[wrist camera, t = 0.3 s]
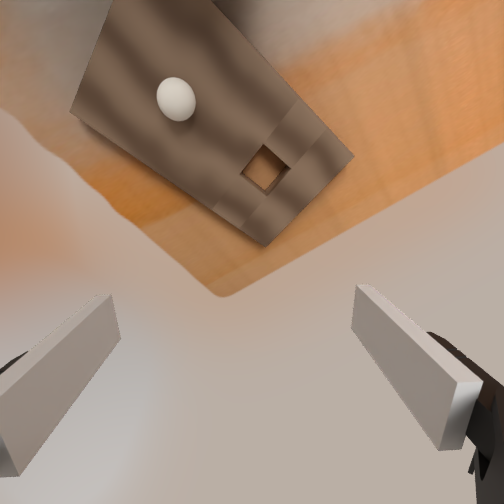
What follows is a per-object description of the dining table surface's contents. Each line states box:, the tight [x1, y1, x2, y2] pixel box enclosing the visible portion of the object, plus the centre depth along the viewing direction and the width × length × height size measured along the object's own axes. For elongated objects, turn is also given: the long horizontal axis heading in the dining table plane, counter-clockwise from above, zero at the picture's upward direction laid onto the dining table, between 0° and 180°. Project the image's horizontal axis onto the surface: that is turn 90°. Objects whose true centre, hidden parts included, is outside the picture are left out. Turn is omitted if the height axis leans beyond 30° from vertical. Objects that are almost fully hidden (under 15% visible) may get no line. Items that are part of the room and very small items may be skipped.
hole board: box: [70, 0, 354, 247], centre depth 32 cm, size 18×30×2 cm, turn 50°
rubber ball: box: [157, 77, 196, 121], centre depth 27 cm, size 4×4×4 cm
